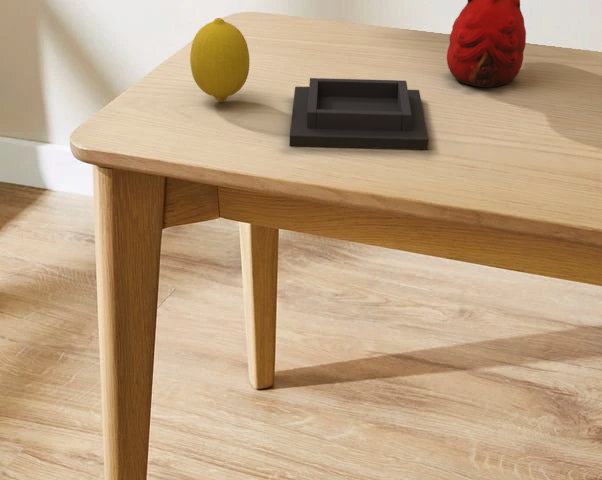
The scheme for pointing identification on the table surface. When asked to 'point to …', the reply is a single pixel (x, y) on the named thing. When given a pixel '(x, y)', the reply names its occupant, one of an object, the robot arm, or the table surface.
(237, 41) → the lemon
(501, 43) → the red clay folk toy
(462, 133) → the table surface
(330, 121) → the socket pad
